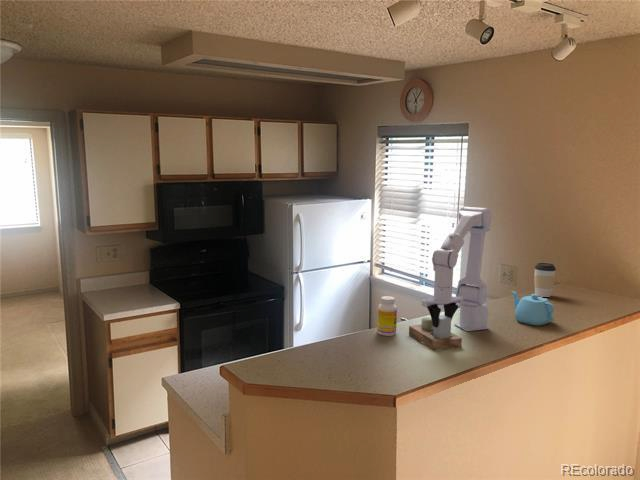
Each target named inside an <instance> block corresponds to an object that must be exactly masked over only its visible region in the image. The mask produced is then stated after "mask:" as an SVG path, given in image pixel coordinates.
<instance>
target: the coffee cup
mask: <svg viewBox="0 0 640 480" xmlns="http://www.w3.org/2000/svg"><path fill="white" fill-rule="evenodd" d="M533 269H534V274H533V276H534V277H533V279H534V294H537V295H539V296H541V297H550V296H551V297H552V294H553V288H554V284H555V278H556V271H557V269H556V267H555V265H554V263H549V262H548V263H546V262H538V263H536V265H535V266H534V267H533ZM551 297H550V298H551Z"/></svg>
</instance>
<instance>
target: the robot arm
mask: <svg viewBox="0 0 640 480" xmlns="http://www.w3.org/2000/svg"><path fill="white" fill-rule="evenodd" d="M491 222H492V212H491V209H490V208H489V207H476V206H475V207H473V206H471V207H470V206H465V205H464V206H462V207H461V208H460V209H459V212H458V223H457V225H456V227H455V229H454V232H452V233H449V234H448V236H447V237H446V238H445V240H444V242H443V243H442V245H441V246H440V248H437V249H435V250H434V252H433V254H432V258H431V262H432V267H433V271H434V285H433V288H434V289H433V297H430V298H429V297H428V298H426V299H422V300H421V306H422V307H424V308H426V309H427V310H428V312H429V316H430V318H431V319H432V324H433V326H434V327H436V328H437V327H438V324H439V316H440V314H441V312H442V308H441V307H439V306H443V311H444V312H443V313H444V315H445V316H447V317H450V318H451V321H452V320H453V317H454V315H455V314H456V311H457V310H458V309H459V322H457V323H454V324H453V325H454V326H456V327H458V328H459V329H461V330H464V331H466V332H471V331H479V330H480V331H481V330H489V326H488V319H489V317H488V316H489V310H488V307H487V304H485V303H486V302H487V298H488V289H487V288H488V286H487V283H486V282H485V281H484V280H483V279H482V278H481V271H482V262H483V254H484V247H485V237H486V233H487V232H489V231H490V228H491ZM468 233H469V234H470V236H469V237H470V238H469V245H468V255H467V263H466V273H465V276H464V277H462V278H461V279H459V280H458V284H457V287H456V289H455V296H452V295H453V280H454V279H453V277H454V268H455V267H456V266H457V262H458V258H459V253H460V251H461V249H462V248H463V246H464V245H465V239H464V238H465V237H466V235H467V234H468ZM458 304H460V305H458ZM459 307H460V308H459Z"/></svg>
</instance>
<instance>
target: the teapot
mask: <svg viewBox="0 0 640 480" xmlns="http://www.w3.org/2000/svg"><path fill="white" fill-rule="evenodd" d="M510 291H511V293H512V295H513V308H514V309H515V311H514V317H515V319H516V320H517V322H521V323H524V324H526V325H531V326H544V325H547V324H548V323H553V322H554V321H555V318H554V316H553V314H554V311H555V306H554V304H552V303H551V302H550V301H549V298H542V297H538V296H539V295H537V294H535V293H532V294H530V295H526V296H523V297H521V298H520V300H519V295H518V293H517V292H516V291H514V290H510Z"/></svg>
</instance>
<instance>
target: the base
mask: <svg viewBox="0 0 640 480" xmlns="http://www.w3.org/2000/svg"><path fill="white" fill-rule="evenodd" d="M409 334H410V335H409ZM408 335H409V336H411V335H412V336H411V337H413V338H414V337H415V338H414V339H416V340H417V339H418V341H419V342H421V343H422V342H423V343H422V344H424V345H425V344H426V345H425V346H427V347H428V348H430V347H431V348H430V349H432V350H433V349H434V350H433V351H441V350H440V349H443V350H449V349H448V348H450V349H456V348H462V342H463V340H462V339H463V338H462V337H461V336H459V335H457V334H455V333H453V332H451V337H450V338H443V339H437V338H436V337H434V336H433V324H432V319H431V317H423V318H421V324H415V325H409V326H408Z"/></svg>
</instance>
